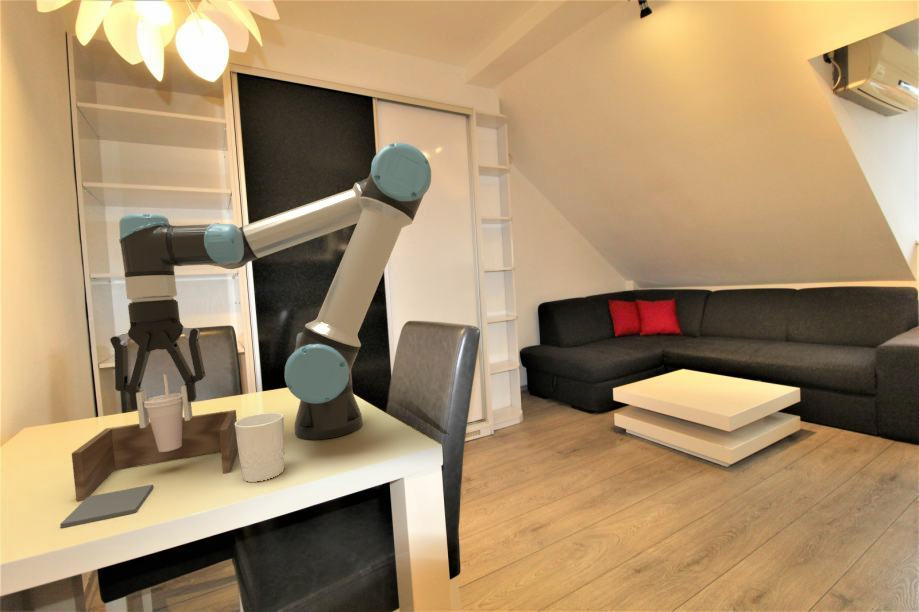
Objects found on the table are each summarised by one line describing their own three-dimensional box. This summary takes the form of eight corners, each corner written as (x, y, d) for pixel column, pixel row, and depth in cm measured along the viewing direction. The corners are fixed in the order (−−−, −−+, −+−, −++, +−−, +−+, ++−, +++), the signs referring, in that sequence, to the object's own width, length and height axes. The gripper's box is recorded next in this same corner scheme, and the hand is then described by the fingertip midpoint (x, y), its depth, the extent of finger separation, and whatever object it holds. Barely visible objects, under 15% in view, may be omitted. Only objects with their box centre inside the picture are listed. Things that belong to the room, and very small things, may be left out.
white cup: (233, 475, 76) (228, 420, 76) (277, 461, 82) (273, 410, 81) (248, 488, 71) (243, 429, 70) (294, 472, 76) (290, 417, 76)
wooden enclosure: (238, 446, 91) (235, 409, 90) (230, 472, 78) (226, 429, 77) (110, 468, 83) (106, 428, 82) (76, 501, 70) (71, 453, 69)
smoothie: (193, 446, 80) (185, 372, 79) (152, 457, 76) (143, 380, 75) (186, 439, 85) (177, 369, 84) (146, 449, 80) (137, 376, 79)
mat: (153, 487, 73) (153, 484, 73) (135, 512, 65) (135, 508, 65) (88, 500, 70) (87, 496, 70) (60, 528, 61) (60, 524, 61)
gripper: (215, 295, 86) (227, 408, 87) (97, 304, 79) (112, 426, 80) (208, 295, 79) (222, 418, 80) (78, 305, 72) (95, 439, 73)
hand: (167, 422), depth 80 cm, fingers closed on smoothie, 6 cm apart
